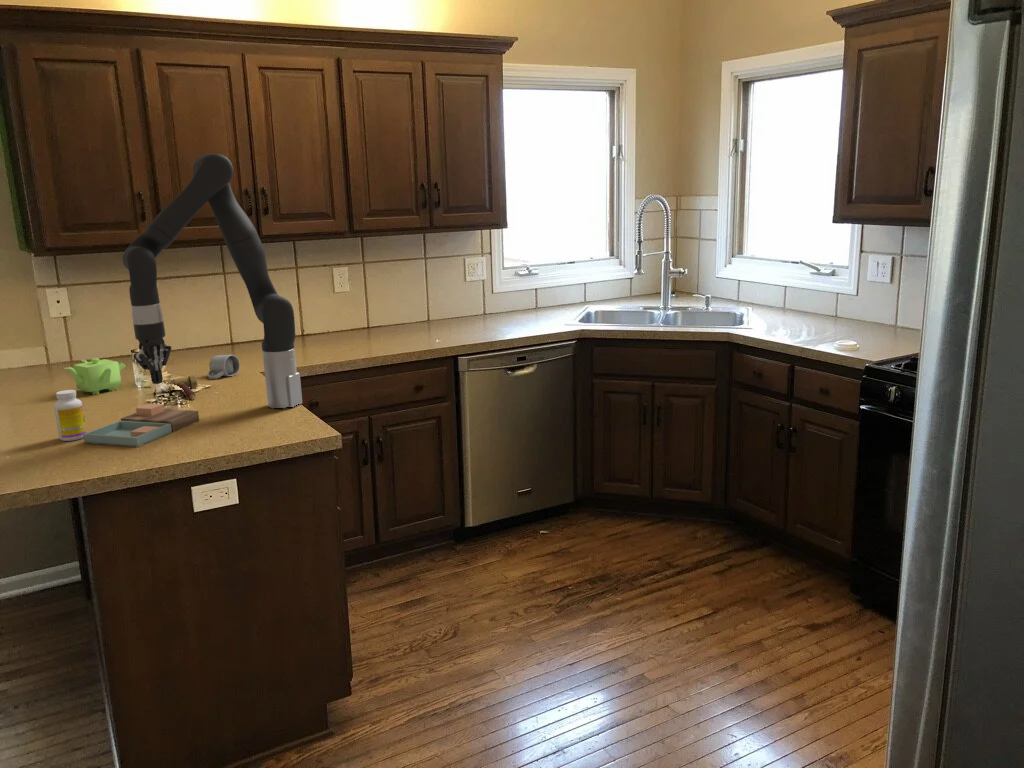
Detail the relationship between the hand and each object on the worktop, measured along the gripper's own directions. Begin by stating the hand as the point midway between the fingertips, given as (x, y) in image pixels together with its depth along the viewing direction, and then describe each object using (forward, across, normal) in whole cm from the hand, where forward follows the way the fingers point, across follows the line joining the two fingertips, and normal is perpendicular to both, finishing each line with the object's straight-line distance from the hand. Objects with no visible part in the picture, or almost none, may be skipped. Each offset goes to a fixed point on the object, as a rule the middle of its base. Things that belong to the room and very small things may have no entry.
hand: (157, 383), depth 224 cm
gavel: (+14, +35, +19) cm, 42 cm away
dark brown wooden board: (+13, +2, +2) cm, 13 cm away
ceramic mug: (+13, +61, +22) cm, 66 cm away
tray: (+12, -11, +3) cm, 17 cm away
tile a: (+10, -10, -2) cm, 15 cm away
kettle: (+13, +35, +53) cm, 65 cm away
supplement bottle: (+12, -13, +18) cm, 26 cm away
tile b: (+10, +3, +6) cm, 12 cm away
